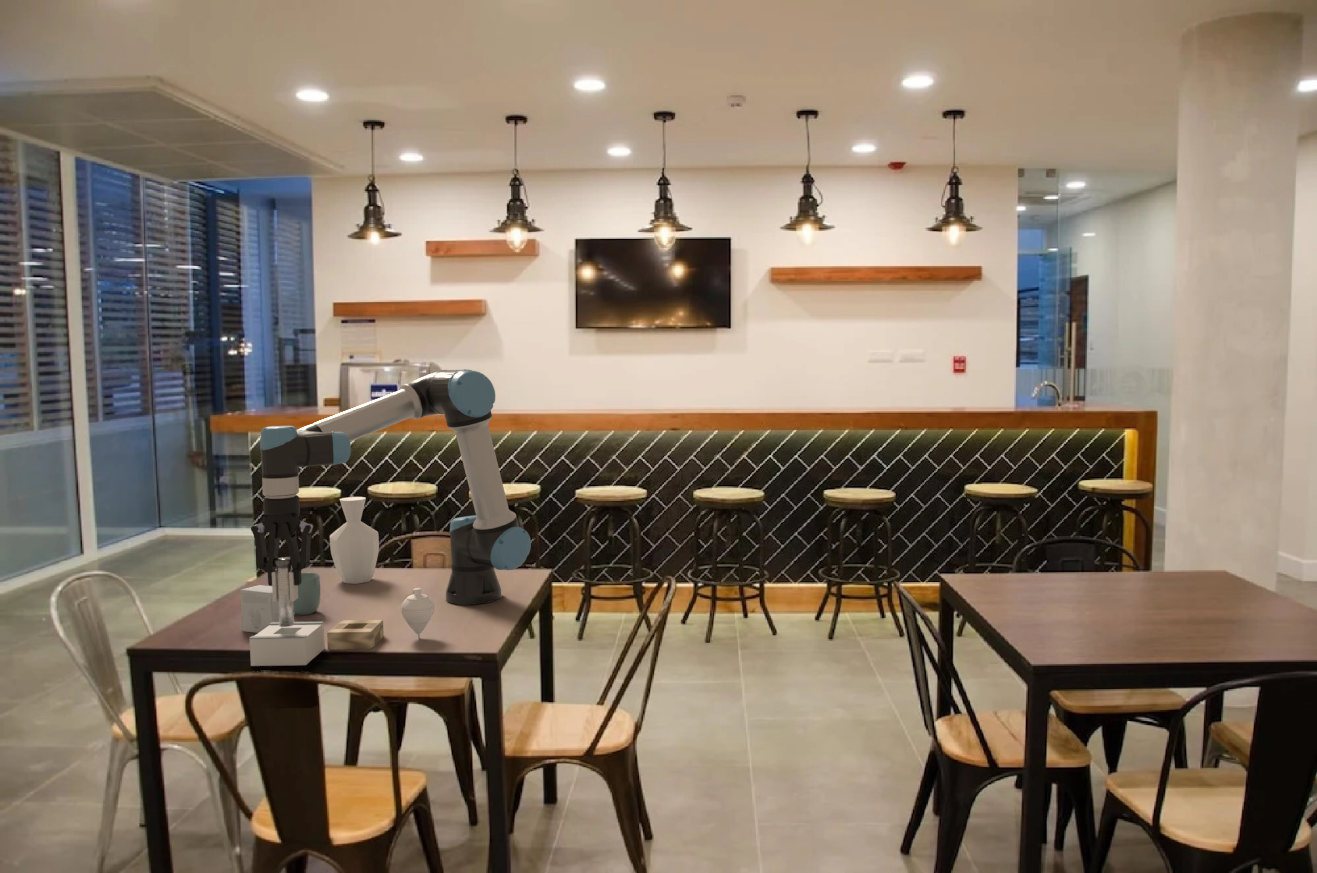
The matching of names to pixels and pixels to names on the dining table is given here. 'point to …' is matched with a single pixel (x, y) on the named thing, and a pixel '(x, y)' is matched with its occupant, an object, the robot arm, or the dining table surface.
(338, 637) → the mount
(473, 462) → the robot arm
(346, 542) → the vase
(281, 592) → the pin
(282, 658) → the socket
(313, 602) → the cup
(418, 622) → the spinning top
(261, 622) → the skincare box
